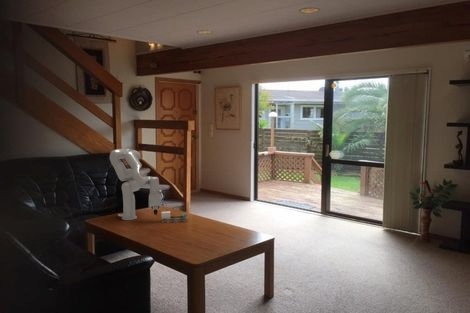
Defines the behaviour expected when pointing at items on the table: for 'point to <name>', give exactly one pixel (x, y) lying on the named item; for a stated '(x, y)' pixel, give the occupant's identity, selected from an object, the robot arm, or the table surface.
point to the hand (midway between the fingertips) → (155, 214)
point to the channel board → (175, 219)
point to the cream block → (165, 215)
